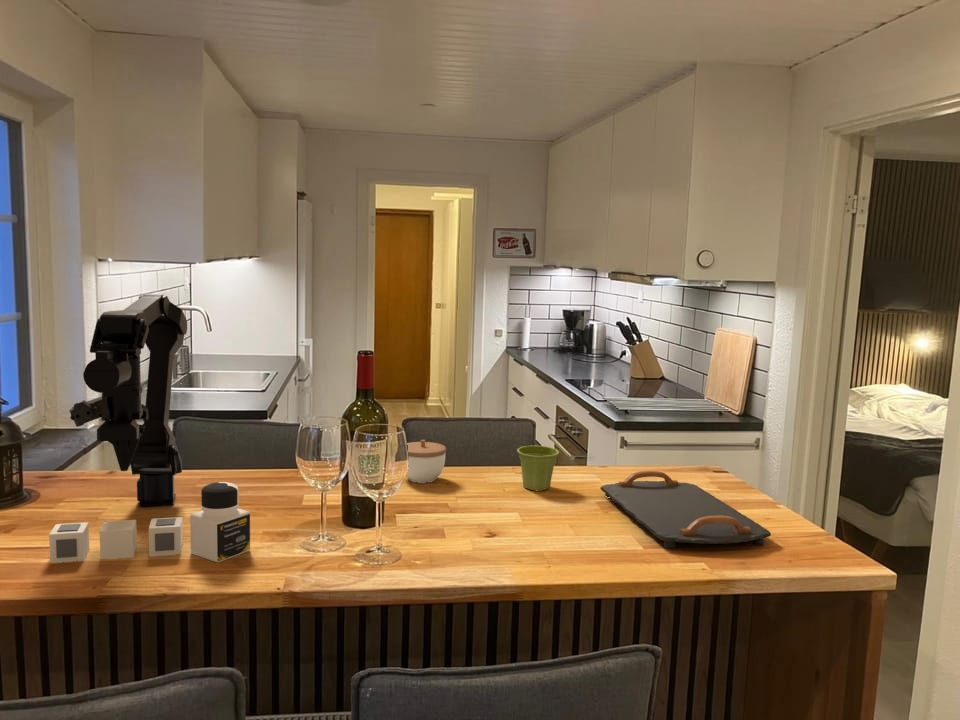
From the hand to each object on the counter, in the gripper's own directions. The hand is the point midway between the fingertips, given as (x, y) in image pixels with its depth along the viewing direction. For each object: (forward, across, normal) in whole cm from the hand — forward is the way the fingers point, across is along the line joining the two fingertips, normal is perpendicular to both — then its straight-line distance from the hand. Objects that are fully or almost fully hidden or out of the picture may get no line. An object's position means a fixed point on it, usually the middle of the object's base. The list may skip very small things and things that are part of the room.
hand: (125, 468), depth 144 cm
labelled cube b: (+12, +10, -8) cm, 17 cm away
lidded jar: (+12, -25, +60) cm, 66 cm away
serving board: (+13, +12, +106) cm, 107 cm away
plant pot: (+12, -14, +84) cm, 87 cm away
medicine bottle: (+12, +13, +16) cm, 24 cm away
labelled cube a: (+12, +10, +8) cm, 17 cm away
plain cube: (+12, +10, 0) cm, 16 cm away
